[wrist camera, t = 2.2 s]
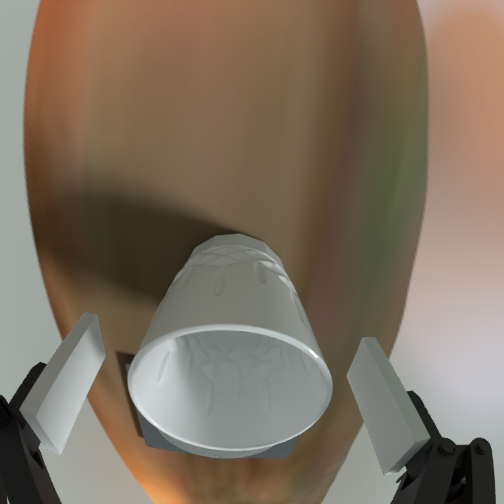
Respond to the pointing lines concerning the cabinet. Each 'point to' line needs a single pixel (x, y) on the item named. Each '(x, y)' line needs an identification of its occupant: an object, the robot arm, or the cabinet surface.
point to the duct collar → (167, 442)
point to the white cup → (230, 352)
